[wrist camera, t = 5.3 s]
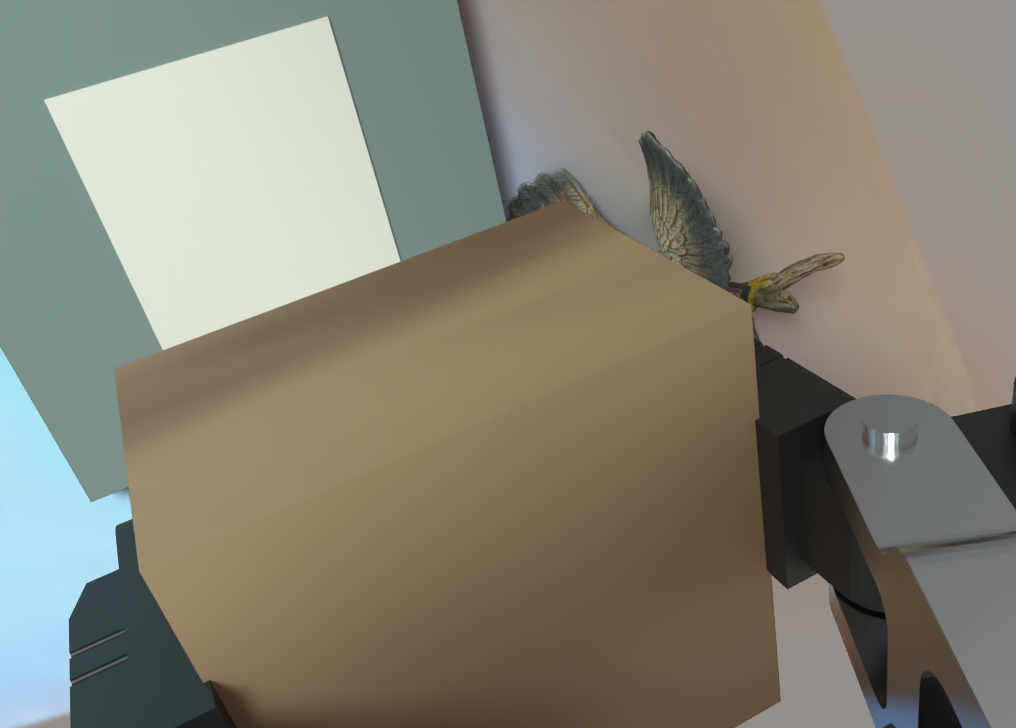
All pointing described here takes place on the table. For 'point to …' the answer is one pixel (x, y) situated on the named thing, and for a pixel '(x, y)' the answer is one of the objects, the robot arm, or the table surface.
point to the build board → (213, 177)
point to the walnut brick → (466, 493)
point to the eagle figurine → (679, 228)
